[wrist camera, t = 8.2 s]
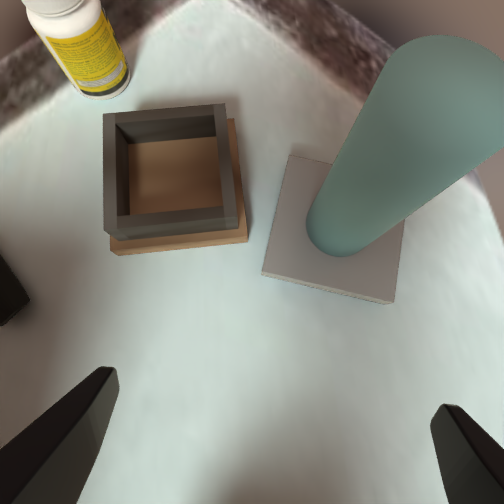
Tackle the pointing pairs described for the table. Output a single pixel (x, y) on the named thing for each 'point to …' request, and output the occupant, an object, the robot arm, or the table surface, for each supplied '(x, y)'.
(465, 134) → the peg
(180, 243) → the socket
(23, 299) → the electric trimmer
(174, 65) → the table surface
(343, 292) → the pad
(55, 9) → the supplement bottle
